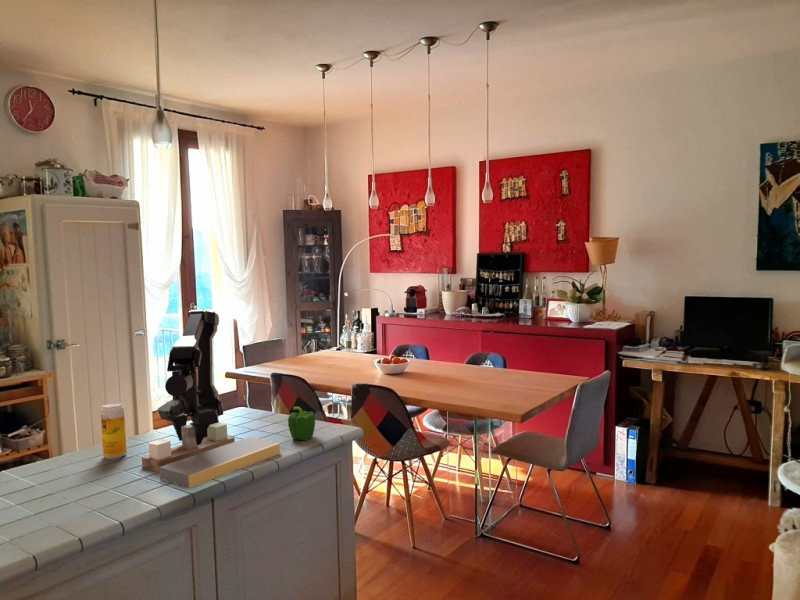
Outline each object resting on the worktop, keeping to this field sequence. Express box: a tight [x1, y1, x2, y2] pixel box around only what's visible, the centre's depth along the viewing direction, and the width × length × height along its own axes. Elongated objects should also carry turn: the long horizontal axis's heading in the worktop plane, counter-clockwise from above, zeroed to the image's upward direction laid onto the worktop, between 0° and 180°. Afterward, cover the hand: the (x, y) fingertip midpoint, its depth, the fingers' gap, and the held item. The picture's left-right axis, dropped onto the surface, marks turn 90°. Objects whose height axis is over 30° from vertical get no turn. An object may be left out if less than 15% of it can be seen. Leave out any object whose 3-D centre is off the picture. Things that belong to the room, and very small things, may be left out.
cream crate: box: [148, 438, 172, 460], centre depth 164 cm, size 4×4×4 cm
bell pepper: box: [287, 406, 316, 441], centre depth 186 cm, size 8×8×10 cm
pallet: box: [141, 423, 236, 474], centre depth 171 cm, size 8×25×9 cm, turn 145°
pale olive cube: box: [207, 422, 228, 441], centre depth 179 cm, size 4×4×4 cm
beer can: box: [100, 402, 128, 460], centre depth 174 cm, size 6×6×15 cm
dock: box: [159, 436, 281, 489], centre depth 163 cm, size 13×30×3 cm, turn 145°
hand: (190, 442), depth 171 cm, fingers open, 8 cm apart
